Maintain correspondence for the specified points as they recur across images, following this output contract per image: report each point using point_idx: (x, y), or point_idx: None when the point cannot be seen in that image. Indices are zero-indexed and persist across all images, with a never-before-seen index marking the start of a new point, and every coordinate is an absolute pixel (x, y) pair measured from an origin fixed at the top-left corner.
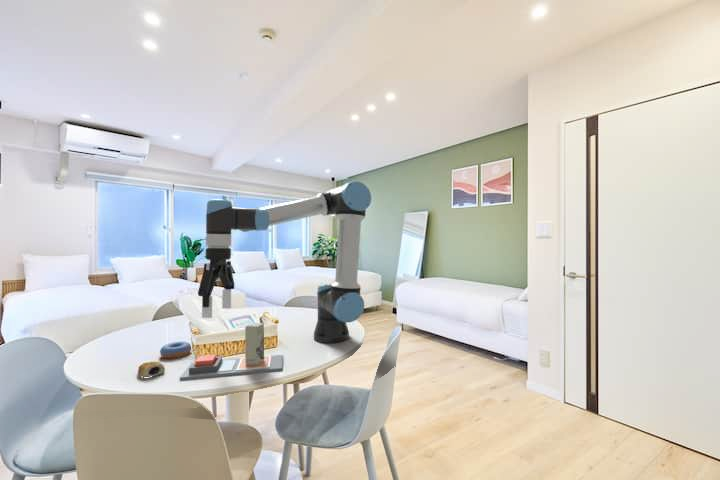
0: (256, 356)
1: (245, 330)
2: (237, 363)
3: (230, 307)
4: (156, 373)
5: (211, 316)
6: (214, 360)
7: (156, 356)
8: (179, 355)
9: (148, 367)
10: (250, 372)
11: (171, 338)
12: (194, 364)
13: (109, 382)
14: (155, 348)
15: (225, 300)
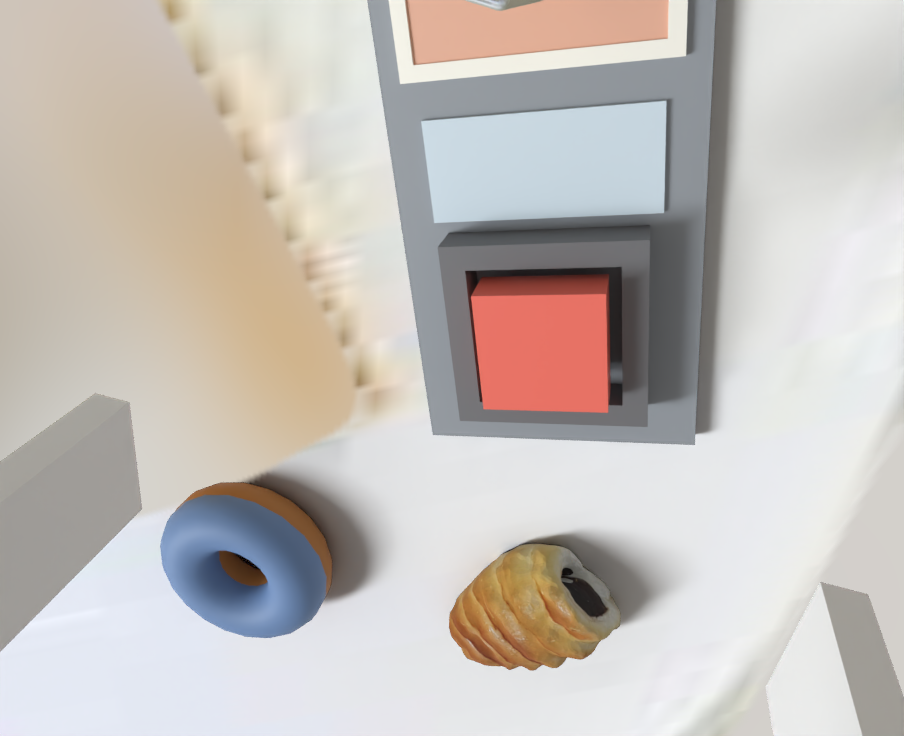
0: None
1: (517, 4)
2: (501, 89)
3: (104, 404)
4: (572, 571)
5: (843, 601)
6: (542, 284)
7: None
8: (310, 524)
9: (597, 637)
10: None
11: None
12: None
13: (619, 717)
14: (176, 644)
15: (38, 559)
